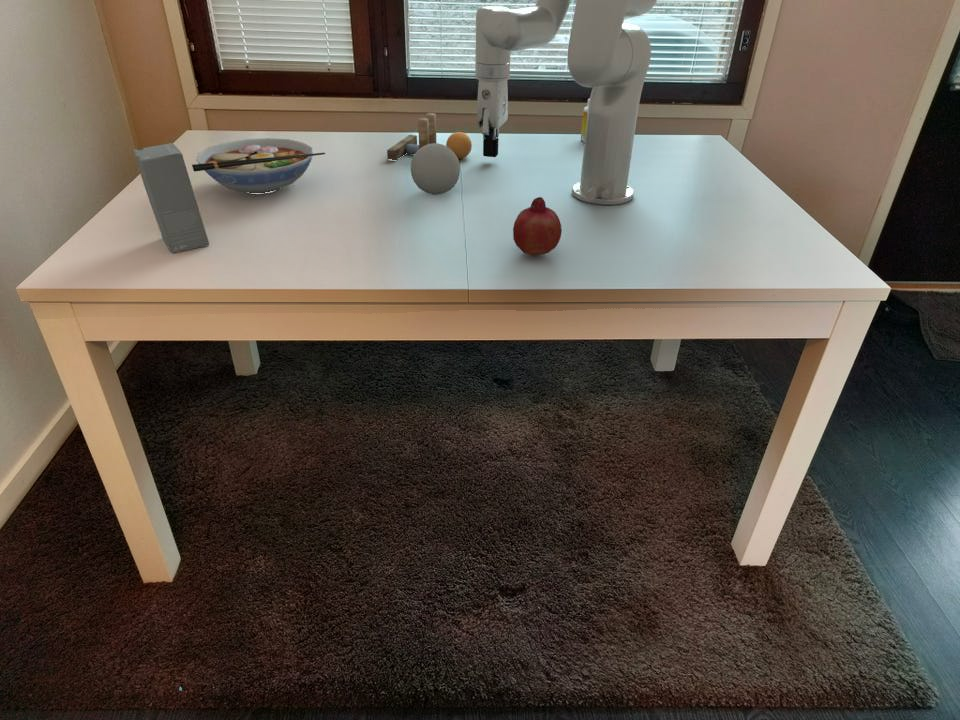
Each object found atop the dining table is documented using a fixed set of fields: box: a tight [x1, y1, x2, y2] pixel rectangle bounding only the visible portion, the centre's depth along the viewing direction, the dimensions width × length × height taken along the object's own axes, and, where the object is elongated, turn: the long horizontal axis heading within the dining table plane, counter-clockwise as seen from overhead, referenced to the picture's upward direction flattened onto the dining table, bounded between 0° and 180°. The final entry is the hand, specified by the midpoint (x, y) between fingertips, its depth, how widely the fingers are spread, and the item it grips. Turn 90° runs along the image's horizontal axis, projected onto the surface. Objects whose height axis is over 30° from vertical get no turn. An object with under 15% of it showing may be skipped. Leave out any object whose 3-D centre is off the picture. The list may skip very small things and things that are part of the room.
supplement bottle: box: [580, 98, 590, 143], centre depth 165 cm, size 6×6×10 cm
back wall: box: [386, 134, 418, 161], centre depth 155 cm, size 14×2×2 cm, turn 164°
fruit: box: [512, 196, 563, 256], centre depth 106 cm, size 8×8×10 cm
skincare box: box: [132, 142, 210, 254], centre depth 107 cm, size 8×7×16 cm
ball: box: [410, 142, 461, 196], centre depth 130 cm, size 10×10×10 cm
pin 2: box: [425, 112, 438, 144], centre depth 154 cm, size 2×2×9 cm
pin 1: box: [417, 117, 429, 149], centre depth 150 cm, size 2×2×9 cm
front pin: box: [406, 144, 419, 155], centre depth 154 cm, size 2×2×9 cm
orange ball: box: [445, 131, 473, 160], centre depth 152 cm, size 6×6×6 cm
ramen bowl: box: [191, 137, 326, 194], centre depth 132 cm, size 25×23×8 cm
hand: (490, 155), depth 150 cm, fingers closed
